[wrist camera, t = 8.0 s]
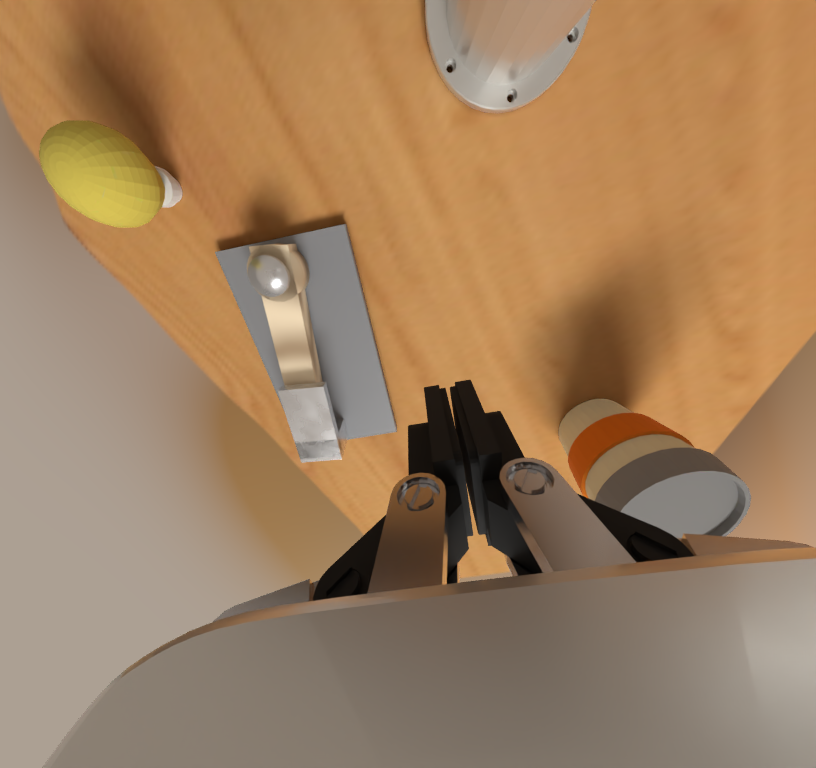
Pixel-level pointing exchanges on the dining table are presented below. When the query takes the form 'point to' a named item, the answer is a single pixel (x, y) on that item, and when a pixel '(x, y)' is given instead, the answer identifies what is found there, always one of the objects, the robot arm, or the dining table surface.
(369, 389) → the base board
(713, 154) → the dining table surface
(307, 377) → the arm link
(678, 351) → the dining table surface
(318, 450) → the block
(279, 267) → the pin cap
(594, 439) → the reusable coffee cup
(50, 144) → the light bulb
